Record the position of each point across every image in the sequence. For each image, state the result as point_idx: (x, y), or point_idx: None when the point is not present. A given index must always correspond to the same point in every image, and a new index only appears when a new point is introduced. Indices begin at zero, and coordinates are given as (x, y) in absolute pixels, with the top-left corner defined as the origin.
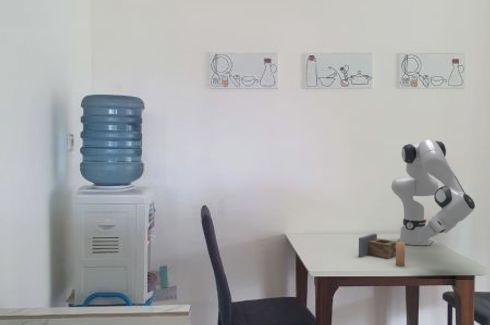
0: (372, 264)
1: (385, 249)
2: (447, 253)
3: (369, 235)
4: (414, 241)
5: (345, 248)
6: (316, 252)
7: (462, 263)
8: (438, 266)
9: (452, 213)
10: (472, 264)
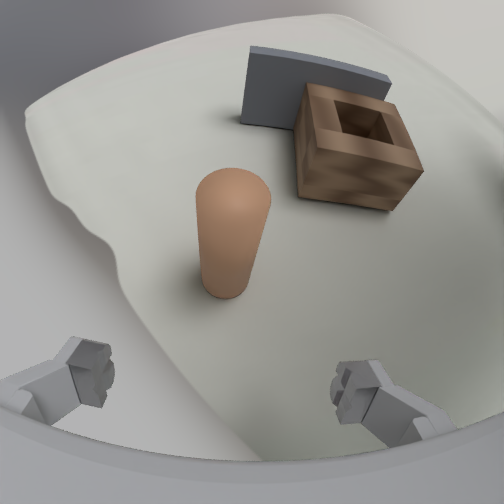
0: (167, 174)
1: (308, 155)
2: None
3: (335, 64)
4: (73, 339)
5: None
6: (215, 46)
7: None
8: (359, 436)
9: None
10: None
